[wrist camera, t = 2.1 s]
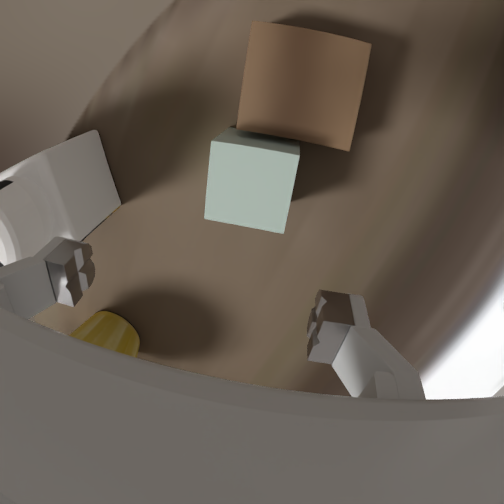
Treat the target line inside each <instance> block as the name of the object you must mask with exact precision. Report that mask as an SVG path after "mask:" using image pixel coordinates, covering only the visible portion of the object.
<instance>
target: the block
mask: <svg viewBox="0 0 504 504" xmlns="http://www.w3.org/2000/svg"><path fill="white" fill-rule="evenodd" d="M371 45H372V44H370V43H366V42H363V41H359V40H356V39H352V38H348V37H344V36H340V35H336V34H331V33H327V32H322V31H317V30H312V29H307V28H301V27H296V26H289V25H283V24H276V23H268V22H260V21H252V24H251V31H250V37H249V43H248V50H247V56H246V63H245V69H244V76H243V83H242V90H241V97H240V104H239V111H238V118H237V126H236V129H237V130H244V131H250V132H257V133H263V134H268V135H274V136H280V137H285V138H290V139H295V140H300V141H305V142H310V143H315V144H319V145H324V146H328V147H333V148H337V149H341V150H345V151H349V150H350V146H351V142H352V138H353V133H354V129H355V124H356V120H357V116H358V111H359V106H360V102H361V97H362V92H363V87H364V82H365V77H366V72H367V67H368V61H369V56H370V50H371Z"/></svg>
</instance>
